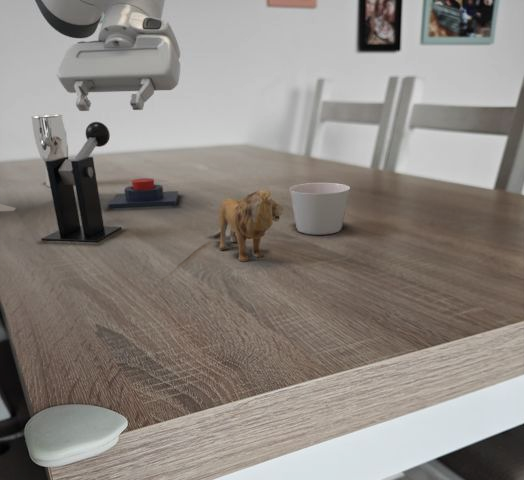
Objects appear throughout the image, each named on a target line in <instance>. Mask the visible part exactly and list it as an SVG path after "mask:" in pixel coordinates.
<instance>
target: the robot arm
mask: <svg viewBox="0 0 524 480" xmlns="http://www.w3.org/2000/svg"><path fill="white" fill-rule="evenodd" d="M34 1H35V3H36V5H37V8H38V9H39V12H40V13H41V15H42V16H43V18H44V19H45V21H46V22H47V23H48V25H49V26H51V28H53V29H54V30H55V31H56V32H57V33H60V34H61V35H63V36H65V37H68V38H72V39H87V38H89V37H91V36H93V35H94V34H95V33H96V31H97V29H98V26H99V24H100V21H101V19H102V17H103V19H102V22H101V26H100V29H99V32H98V36H97V40H91V41H78V42H77V43H74V44H72V45H71V46H69V48H68V49H67V50H66V52H65V54H64V55H63V57H62V60H61V61H60V63H59V66H58V68H57V71H56V77H57V79H58V81H59V82H60V84H61V86H62V87H63V88H64V89H65V91H66V92H68V93H70V94H76V96H77V97H76V101H75V106H76V108H77V109H78V111H79V112H89V111H90V108H91V105H92V103H91V101H90V99H89V98H88V96H89V93H111V92H112V93H114V92H119V93H120V92H137V93H132V94H131V96H130V98H131V99H130V100H129V105H130V106H131V108H132V110H133V111H143V110H144V106H145V103H146V102H148V101H149V99H150V98H151V97H153V95H154V94H155V91H172V90H174V89H175V88H176V87H177V86H178V84H179V81H180V75H181V62H180V58H181V50H180V47H179V43H178V41H177V38H176V34H175V33H174V31H173V29H172V26H171V25H170V23H169V21H167V20H165V19H162V17H163V13H164V7H165V2H166V0H34ZM103 14H104V15H103Z"/></svg>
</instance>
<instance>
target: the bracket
mask: <svg viewBox="0 0 524 480" xmlns="http://www.w3.org/2000/svg"><path fill="white" fill-rule="evenodd" d="M66 159H69V156H68V157H60V158H56V159H52V160H48V161H46V166H47V171H48V177H49V182H50V187H49V188H50V192H51V196H52V203H53V206H54V207H53V208H54V212H55V217H56V222H57V228H58V230H57V231H55V232H53V233H50V234H48V235H46V236H43V237H42V238H41V241H44V242H66V243H67V242H71V243H94V244H95V243H100V242H101V241H103V240H105V239H106V238H108V237H110V236H112V235H114V234H115V233H117V232H119V231H121V230H122V229H123V227H122V226H109V225H108V226H105V225H104V224H105V223H104V218H103V213H102V206H101V199H100V193H99V187H98V179H97V175H96V168H95V161H94V157H93V156H89V157H85V158H81V159H77V160H74V161H71V164H72V169H73V175H74V181H75V185H65V184H64V182H63V180H62V178H61V176H60V174H59V172H58V170H59V168H60V167H61V165H62V164H63V163H64V161H65V160H66ZM74 186H75V188H74ZM75 191H76V192H75ZM75 193H76V194H75ZM76 197H77V199H76ZM77 202H78V204H77ZM78 209H79V210H78ZM79 214H80V216H79ZM80 219H81V221H80ZM80 222H81V223H80Z"/></svg>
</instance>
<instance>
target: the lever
mask: <svg viewBox="0 0 524 480" xmlns="http://www.w3.org/2000/svg"><path fill="white" fill-rule="evenodd" d="M110 137H111V134H110V130H109V128H108V127H107V125H105V124H104V123H103V122H100V121H93V122H91V123H89V124H88V125H87V126H86V128H85V138H86V141H85V142H84V144H83V145H82V147H81V149H80V150H79V151H78V153H77V154H76V156H75V157H74V158H71V159H70V158H68V159H66V160H65V161H64V163H63V164H62V165H61V167H60V168H59V170H58V172H59V174H60V176H61V178H62V180H63V182H64V184H65V185H73V186H75V181H74V175H73V169H72V164H71V161H74V160H77V159H81V158H85V157H91V156H90V155H91V154H92V152H93V151H94V150H95V148H96V147H99V148H100V147H104V146H106V145H107V144H108V142H110Z"/></svg>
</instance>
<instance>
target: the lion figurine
mask: <svg viewBox="0 0 524 480" xmlns="http://www.w3.org/2000/svg"><path fill="white" fill-rule="evenodd" d="M284 208H285V207H283V206H282V205H280V204H278V203H277V202H276V200H274V199H273V198H272V197H271V191H269V190H266V189H264V190H263V189H262V190H261V189H259V190H256V191H254V192H252V193H250V194H247V196H246V197H244V198H242V199H240V201H239V200H237V199H235V198H231V197H229V198H227V199H225V200H224V201H222V203H221V205H220V207H219V213H218V214H219V215H218V218H219V227H220V231H219V232H217V233H215V235H213V238H215V239H219V238H220V239H219V241H220V243H219V247H218V250H221V251H224V250H227V249H228V245H227V242H226V240H227V230H228V226H229V229H230V233H229V240H230V242H231V243H237V248H238V261H239V262H247V261H248V260H249V258H248V253H247V250H246V241H247V239H248V240H252V247H251V252H252V255H253V256H254V257H256V258H262V257H263V256H264V252H263V251H260V243H261V238H263V237H264V236H265V233H266V232H267V231H268V230H270V229H271V227H272V226H273V221H274V222H279V221H280V217H281V216H282V214H283V211H284Z"/></svg>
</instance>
